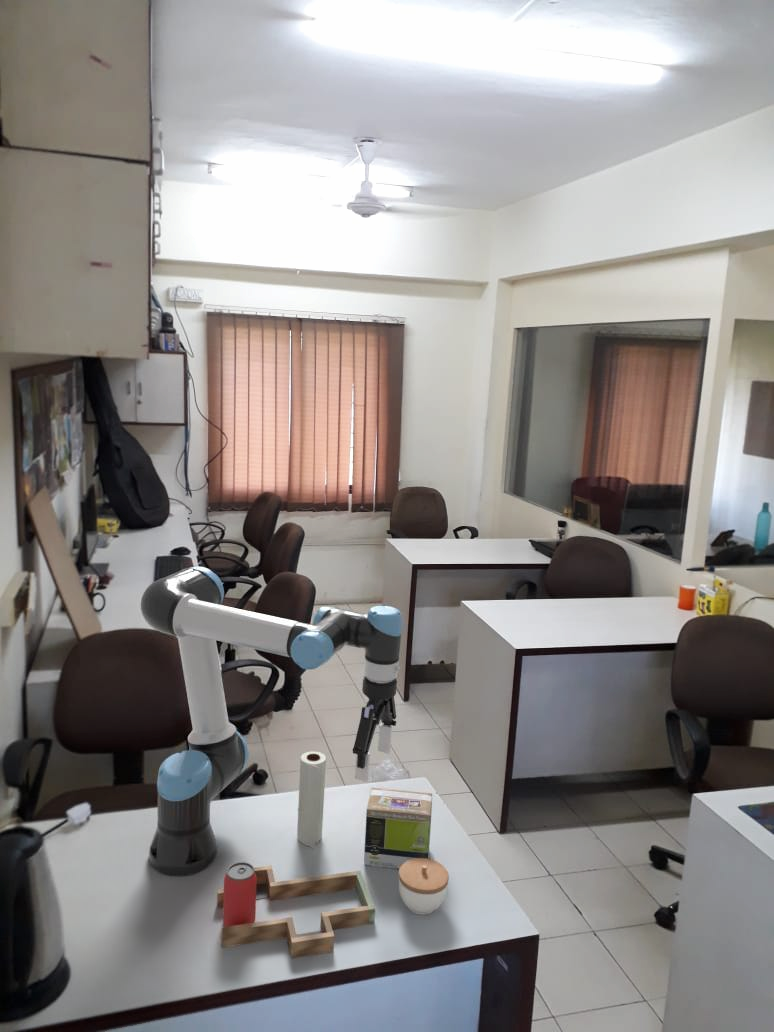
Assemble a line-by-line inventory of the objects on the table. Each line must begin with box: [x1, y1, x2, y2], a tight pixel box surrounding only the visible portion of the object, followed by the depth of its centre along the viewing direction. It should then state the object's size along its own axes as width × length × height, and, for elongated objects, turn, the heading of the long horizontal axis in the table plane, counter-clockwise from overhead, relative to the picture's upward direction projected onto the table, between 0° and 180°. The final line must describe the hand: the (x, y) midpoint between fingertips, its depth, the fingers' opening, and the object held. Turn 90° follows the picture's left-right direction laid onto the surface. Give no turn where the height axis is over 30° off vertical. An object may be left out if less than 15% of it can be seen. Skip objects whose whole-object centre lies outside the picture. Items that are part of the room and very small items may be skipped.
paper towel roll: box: [296, 750, 327, 850], centre depth 184 cm, size 7×6×21 cm
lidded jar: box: [398, 858, 450, 916], centre depth 165 cm, size 11×11×9 cm
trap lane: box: [216, 864, 376, 959], centre depth 160 cm, size 31×24×4 cm
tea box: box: [363, 787, 433, 869], centre depth 180 cm, size 15×10×15 cm, turn 84°
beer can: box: [222, 861, 257, 927], centre depth 156 cm, size 7×7×12 cm
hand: (372, 765), depth 172 cm, fingers open, 13 cm apart
